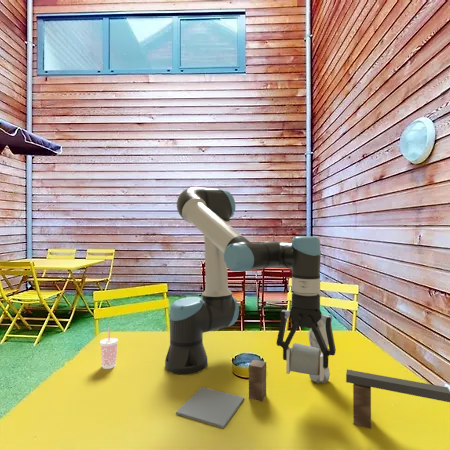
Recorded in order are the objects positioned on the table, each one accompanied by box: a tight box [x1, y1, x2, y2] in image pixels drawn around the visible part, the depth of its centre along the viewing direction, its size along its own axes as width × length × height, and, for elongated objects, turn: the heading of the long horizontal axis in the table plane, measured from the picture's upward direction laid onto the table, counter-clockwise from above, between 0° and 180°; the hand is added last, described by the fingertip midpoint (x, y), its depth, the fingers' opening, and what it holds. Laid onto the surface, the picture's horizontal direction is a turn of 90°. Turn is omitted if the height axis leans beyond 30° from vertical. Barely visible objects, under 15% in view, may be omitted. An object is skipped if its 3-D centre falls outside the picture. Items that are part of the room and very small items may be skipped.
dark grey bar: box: [345, 368, 450, 403], centre depth 76 cm, size 22×3×2 cm, turn 65°
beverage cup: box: [99, 326, 119, 370], centre depth 111 cm, size 6×6×14 cm
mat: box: [175, 386, 245, 429], centre depth 86 cm, size 14×14×1 cm
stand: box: [248, 359, 372, 429], centre depth 85 cm, size 32×4×10 cm, turn 65°
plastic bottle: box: [307, 319, 331, 384], centre depth 100 cm, size 6×7×20 cm
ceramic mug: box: [290, 342, 322, 375], centre depth 89 cm, size 11×8×8 cm
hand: (305, 375), depth 85 cm, fingers closed on ceramic mug, 8 cm apart
